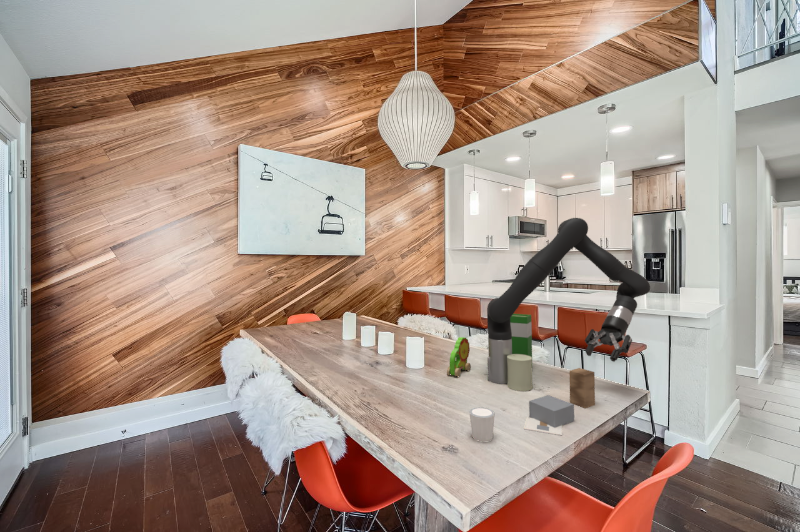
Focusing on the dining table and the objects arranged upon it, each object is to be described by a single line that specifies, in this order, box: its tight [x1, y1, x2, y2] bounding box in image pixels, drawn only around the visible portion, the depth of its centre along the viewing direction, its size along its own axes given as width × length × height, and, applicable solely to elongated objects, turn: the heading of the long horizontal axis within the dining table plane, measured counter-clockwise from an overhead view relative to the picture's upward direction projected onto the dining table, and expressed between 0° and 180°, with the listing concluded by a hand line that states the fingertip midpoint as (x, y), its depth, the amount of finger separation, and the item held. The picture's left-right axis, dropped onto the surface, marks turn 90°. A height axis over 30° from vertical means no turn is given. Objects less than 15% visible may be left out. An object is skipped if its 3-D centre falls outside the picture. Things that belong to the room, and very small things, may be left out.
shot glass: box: [468, 406, 495, 442], centre depth 98 cm, size 7×7×7 cm
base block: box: [528, 394, 575, 428], centre depth 108 cm, size 9×9×5 cm
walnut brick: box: [568, 367, 596, 409], centre depth 118 cm, size 5×5×11 cm
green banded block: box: [487, 313, 533, 358], centre depth 161 cm, size 18×7×24 cm, turn 56°
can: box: [506, 354, 534, 392], centre depth 135 cm, size 9×9×12 cm
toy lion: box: [446, 336, 472, 378], centre depth 155 cm, size 16×5×15 cm, turn 144°
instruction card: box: [523, 416, 563, 436], centre depth 103 cm, size 10×8×1 cm
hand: (599, 357), depth 123 cm, fingers open, 8 cm apart
